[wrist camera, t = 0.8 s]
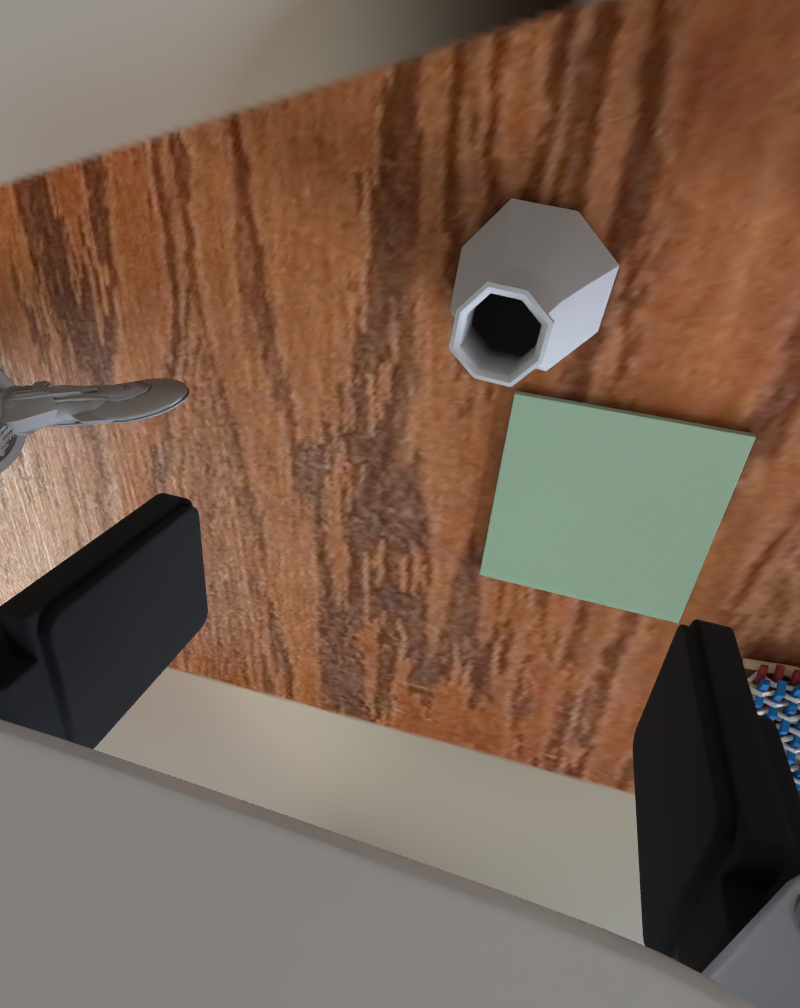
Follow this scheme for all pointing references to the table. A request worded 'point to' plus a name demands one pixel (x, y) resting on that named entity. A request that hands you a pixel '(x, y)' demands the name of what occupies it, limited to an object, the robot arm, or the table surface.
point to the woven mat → (779, 704)
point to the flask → (528, 291)
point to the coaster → (609, 503)
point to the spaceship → (78, 407)
